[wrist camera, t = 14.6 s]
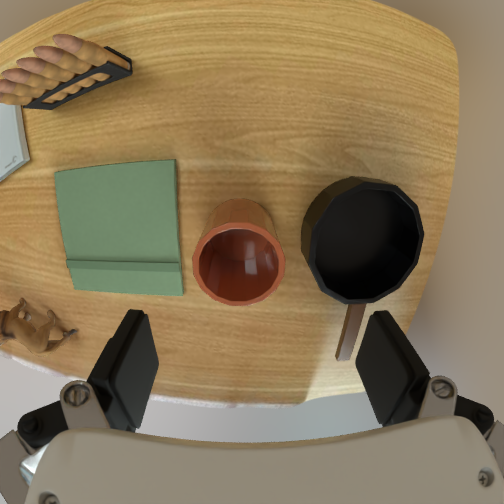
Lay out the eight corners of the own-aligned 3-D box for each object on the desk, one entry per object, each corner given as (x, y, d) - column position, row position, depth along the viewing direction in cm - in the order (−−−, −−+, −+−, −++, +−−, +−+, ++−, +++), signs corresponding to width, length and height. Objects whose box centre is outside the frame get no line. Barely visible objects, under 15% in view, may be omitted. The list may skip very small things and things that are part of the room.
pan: (410, 183, 25) (432, 190, 21) (375, 335, 33) (386, 355, 29) (305, 171, 25) (316, 176, 21) (288, 342, 32) (293, 364, 29)
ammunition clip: (131, 58, 19) (65, 18, 8) (133, 74, 20) (64, 40, 9) (49, 95, 20) (-29, 91, 9) (50, 110, 20) (-29, 111, 9)
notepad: (176, 159, 24) (173, 159, 23) (183, 292, 29) (182, 297, 28) (58, 171, 23) (52, 172, 22) (77, 286, 29) (73, 290, 28)
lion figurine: (15, 318, 31) (-14, 351, 22) (6, 291, 29) (-27, 322, 20) (82, 341, 32) (55, 385, 24) (74, 311, 30) (42, 355, 22)
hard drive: (23, 161, 21) (11, 71, 16) (-11, 187, 21) (-23, 105, 16) (31, 159, 22) (19, 72, 17) (-3, 184, 23) (-15, 105, 18)
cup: (274, 199, 26) (288, 223, 18) (271, 262, 28) (281, 305, 21) (205, 198, 25) (190, 222, 18) (207, 261, 28) (195, 305, 20)
